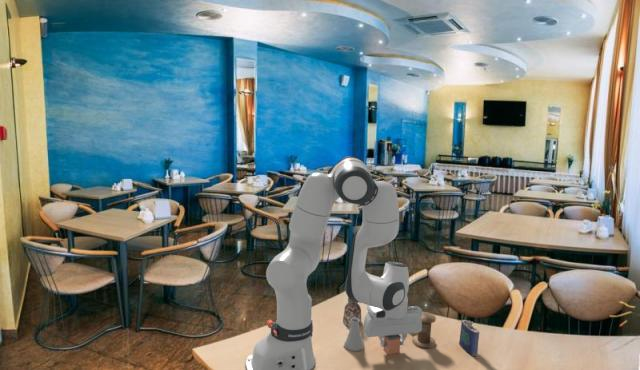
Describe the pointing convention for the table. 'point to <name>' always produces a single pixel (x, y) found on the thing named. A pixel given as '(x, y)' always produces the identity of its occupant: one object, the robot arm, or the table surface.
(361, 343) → the flask
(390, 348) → the block
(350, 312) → the figurine
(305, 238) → the robot arm
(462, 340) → the flask
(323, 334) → the table surface
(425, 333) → the brown spool-shaped piece
